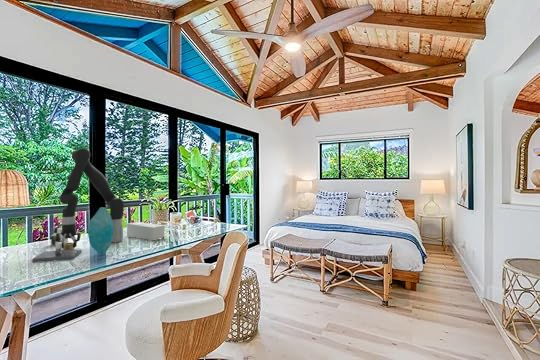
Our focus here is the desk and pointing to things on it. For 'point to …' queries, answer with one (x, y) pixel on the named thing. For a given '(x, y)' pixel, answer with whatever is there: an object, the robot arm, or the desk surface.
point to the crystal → (101, 231)
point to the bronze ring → (68, 246)
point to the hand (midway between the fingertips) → (68, 247)
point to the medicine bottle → (54, 238)
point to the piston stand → (57, 254)
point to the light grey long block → (145, 230)
